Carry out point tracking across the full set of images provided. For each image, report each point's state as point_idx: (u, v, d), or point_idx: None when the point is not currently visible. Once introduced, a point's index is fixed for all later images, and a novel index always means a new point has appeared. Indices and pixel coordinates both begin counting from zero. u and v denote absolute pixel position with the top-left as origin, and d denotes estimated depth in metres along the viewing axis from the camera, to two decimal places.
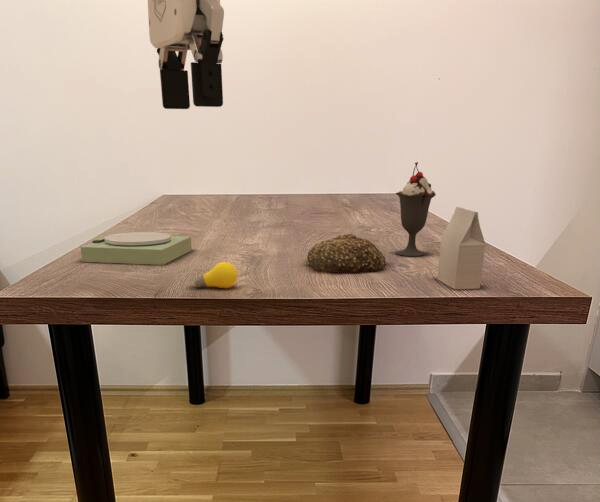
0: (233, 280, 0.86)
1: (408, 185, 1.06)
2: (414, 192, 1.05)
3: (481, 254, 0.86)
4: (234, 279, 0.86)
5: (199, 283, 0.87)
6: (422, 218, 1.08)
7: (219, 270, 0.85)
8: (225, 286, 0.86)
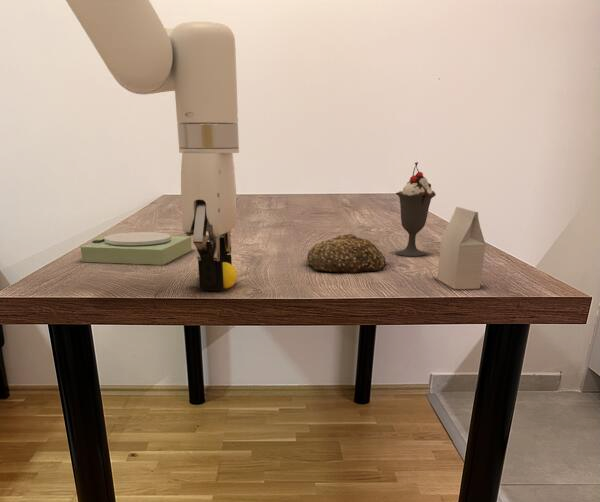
0: (233, 280, 0.86)
1: (408, 185, 1.06)
2: (414, 192, 1.05)
3: (481, 254, 0.86)
4: (234, 279, 0.86)
5: (199, 283, 0.87)
6: (422, 218, 1.08)
7: None
8: (225, 286, 0.86)
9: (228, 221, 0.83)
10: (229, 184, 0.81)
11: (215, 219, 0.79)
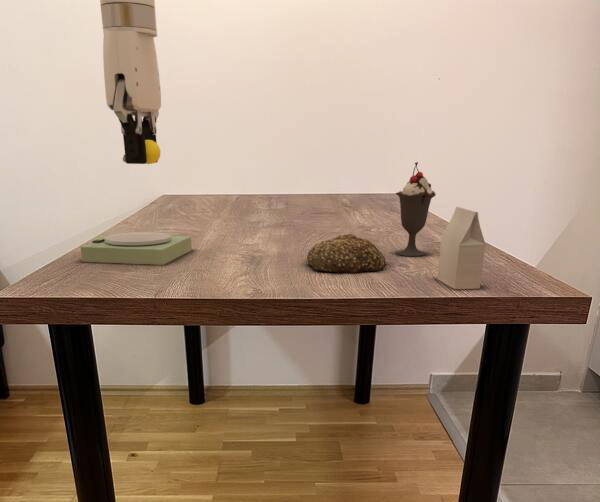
0: (156, 155, 0.97)
1: (408, 185, 1.06)
2: (414, 192, 1.05)
3: (481, 254, 0.86)
4: (157, 155, 0.97)
5: None
6: (422, 218, 1.08)
7: None
8: (149, 161, 0.97)
9: (149, 99, 0.94)
10: (149, 64, 0.92)
11: (134, 92, 0.90)
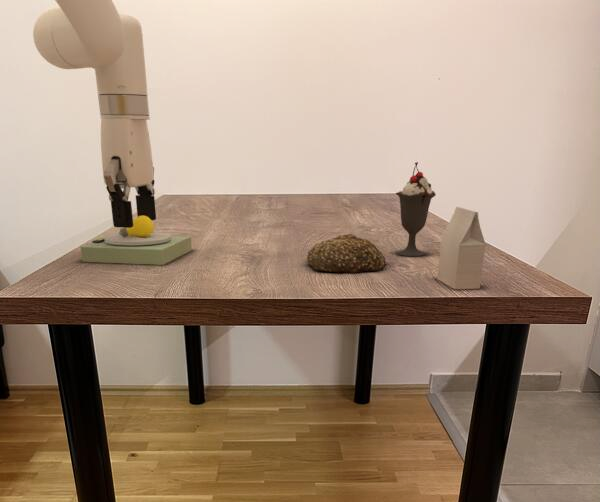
0: (149, 230, 1.06)
1: (408, 185, 1.06)
2: (414, 192, 1.05)
3: (481, 254, 0.86)
4: (150, 229, 1.06)
5: (122, 232, 1.07)
6: (422, 218, 1.08)
7: (137, 222, 1.05)
8: (143, 235, 1.07)
9: (143, 175, 1.03)
10: (142, 145, 1.01)
11: (129, 172, 0.99)
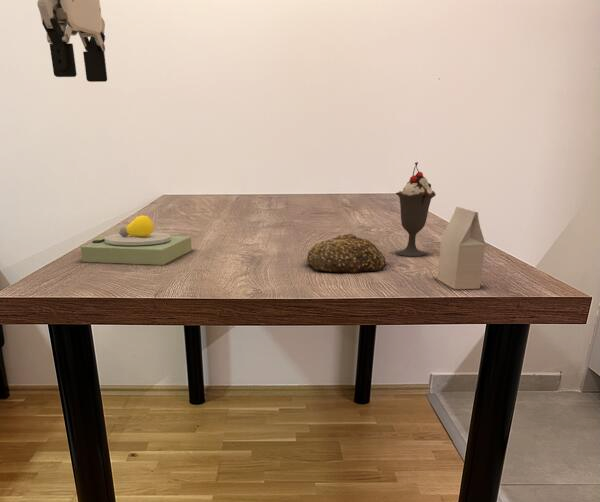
0: (149, 230, 1.06)
1: (408, 185, 1.06)
2: (414, 192, 1.05)
3: (481, 254, 0.86)
4: (150, 229, 1.06)
5: (122, 232, 1.07)
6: (422, 218, 1.08)
7: (137, 222, 1.05)
8: (143, 235, 1.07)
9: (87, 18, 0.90)
10: None
11: (69, 7, 0.86)
